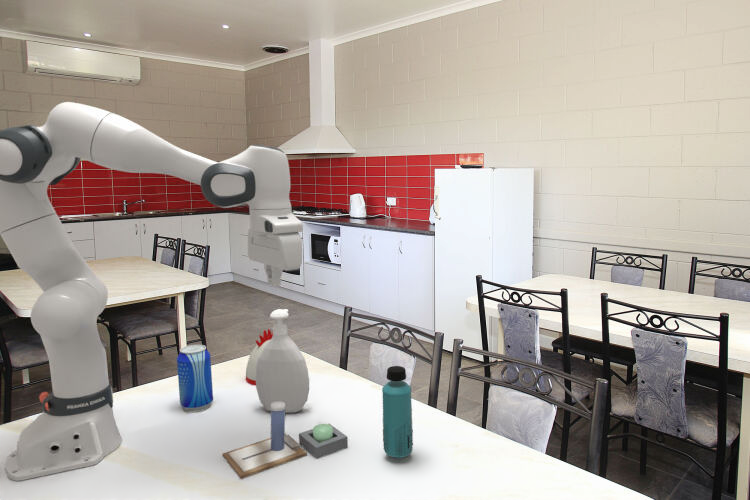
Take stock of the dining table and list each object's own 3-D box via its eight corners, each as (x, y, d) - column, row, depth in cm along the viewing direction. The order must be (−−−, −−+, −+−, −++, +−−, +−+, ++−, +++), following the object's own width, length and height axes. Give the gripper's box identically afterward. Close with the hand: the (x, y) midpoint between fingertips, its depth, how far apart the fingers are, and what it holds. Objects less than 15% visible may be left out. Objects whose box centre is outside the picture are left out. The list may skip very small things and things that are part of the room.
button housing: (316, 458, 114) (316, 447, 114) (299, 443, 121) (298, 433, 120) (347, 447, 119) (347, 436, 119) (329, 433, 125) (329, 423, 125)
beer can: (217, 407, 141) (213, 349, 139) (185, 415, 136) (180, 356, 134) (208, 396, 148) (204, 341, 146) (176, 404, 143) (172, 347, 141)
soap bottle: (315, 403, 142) (312, 305, 138) (305, 417, 134) (301, 313, 130) (264, 400, 145) (260, 304, 141) (252, 413, 137) (246, 311, 133)
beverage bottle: (411, 466, 111) (410, 374, 108) (380, 463, 112) (378, 372, 109) (415, 450, 117) (414, 363, 114) (385, 447, 118) (384, 361, 116)
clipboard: (241, 478, 107) (240, 472, 107) (222, 456, 116) (222, 450, 116) (306, 455, 116) (306, 449, 116) (284, 435, 125) (284, 430, 125)
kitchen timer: (301, 376, 162) (299, 329, 159) (263, 390, 152) (261, 339, 150) (274, 366, 171) (272, 321, 169) (237, 378, 161) (234, 330, 159)
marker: (274, 452, 115) (274, 408, 114) (268, 446, 118) (268, 403, 117) (286, 448, 117) (287, 405, 116) (280, 442, 120) (281, 400, 119)
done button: (319, 450, 117) (319, 434, 116) (310, 442, 120) (309, 427, 120) (336, 444, 119) (336, 429, 119) (326, 436, 123) (326, 421, 122)
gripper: (238, 219, 120) (242, 279, 122) (277, 226, 103) (281, 295, 105) (264, 218, 123) (267, 276, 125) (306, 223, 107) (309, 290, 109)
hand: (274, 285), depth 115 cm, fingers closed
